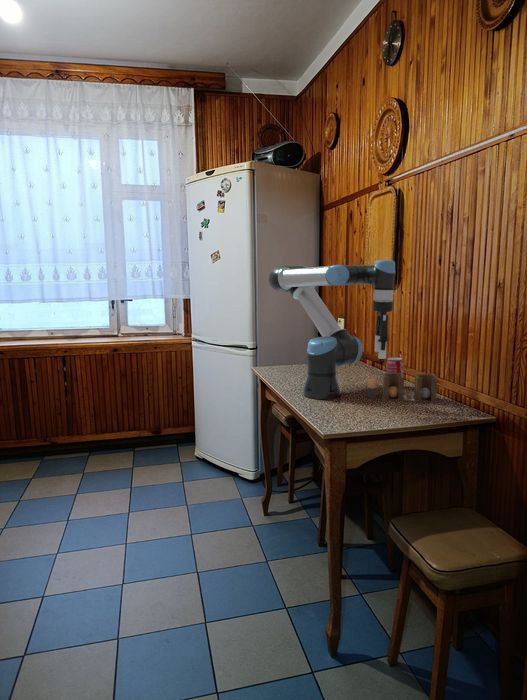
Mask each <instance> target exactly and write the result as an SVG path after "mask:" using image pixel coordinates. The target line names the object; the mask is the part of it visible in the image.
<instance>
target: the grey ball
mask: <svg viewBox="0 0 527 700" xmlns="http://www.w3.org/2000/svg"><path fill="white" fill-rule="evenodd" d="M430 396H431V391H430V390H429V389H428V388H422V394H421V398H423V399H428V398H429V397H430Z"/></svg>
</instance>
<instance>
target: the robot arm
mask: <svg viewBox="0 0 527 700" xmlns="http://www.w3.org/2000/svg"><path fill="white" fill-rule="evenodd" d="M395 277H396V262H395V261H394V260H393V259H391V260H390V259H388V260H387V259H386V260H385V259H381V260H380V259H376V260H375V262H374V264H373V265H372V264H370V265H369V264H348V265H347V264H334V265H327V266H313V267H308V266H305V265H280V266H278V265H277V266H276V267H273V268H272V269H271V270H270V272H269V274H268V278H267V280H268V284H269V286H270V287H271V288H272V290H274V291H277V292H279V293H285V292H286V293H287V292H289V293H290V296H292V297H293V299H294V300H298V301H299V302H300V304H301V306H302V308H303V309H304V310H305V312H306V313H307V315H308V317H309V318H310V319H311V321H312V322H313V324H314V325H315V327H316V329H317V331H318V332H319V333H320V335H321V336H317V337H314V338H311V339H309V341H308V343H307V349H306V352H307V355H306V356H307V362H306V363H307V376H306V379H305V383H304V386H303V388H302V395H303V396H304V397H307V398H309V399H315V400H316V399H317V400H331V399H336V398H339V397H340V396H341V388H340V385H339V381H338V379H337V368H339V367H343V366H344V367H345V366H351V365H353V364H355V363H358V361H360V360H361V358H362V356H363V350H364V349H363V344H362V341H361V340H360V339H359V338H358V337H356V336H352V335H350V333H349V331H348V330H347V329H345V328H341V326H340V325H339V324H338V322H337V321H336V319H335V317H334V316H333V314H332V313H331V312H330V310H329V309H328V307H327V306H326V304H325V303H324V301H323V300H322V298H321V297H320V296H319V294H318V292H317V290H316V289H315V288H316V287H320V286H321V287H322V286H350V285H351V286H352V285H369V286H370V285H372V286H373V295H372V297H373V298H372V299H373V302H372V311H373V312H376V317H375V318H376V322H375V331H374V333H375V339H374V353H378V355H377V356H378V359H381V360H382V359H383V360H385V359H386V358H387V348H388V347H387V345H388V340H389V337H388V336H389V335H388V333H389V331H388V330H389V329H388V327H389V326H388V321H389V315H387V313H391V312H392V311H394V302H393V301H394V296H395V295H396V292H394V291H395Z"/></svg>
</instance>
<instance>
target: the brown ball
mask: <svg viewBox="0 0 527 700" xmlns="http://www.w3.org/2000/svg"><path fill="white" fill-rule="evenodd" d="M365 385H366V387H367V389H368V388H369V389H375V388H376V389H377V388H378V385H379V383H378V380H377V379H376V378H373V377H372V378H371V377H370V378H368V379H367V380H366V383H365Z"/></svg>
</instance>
